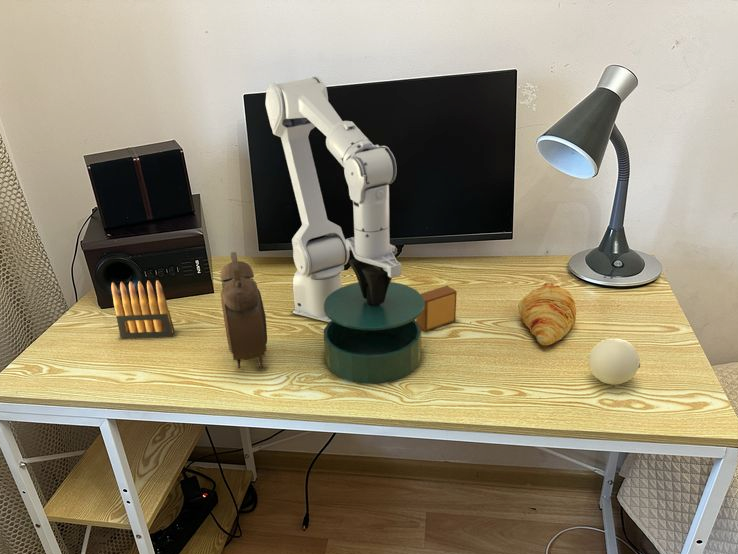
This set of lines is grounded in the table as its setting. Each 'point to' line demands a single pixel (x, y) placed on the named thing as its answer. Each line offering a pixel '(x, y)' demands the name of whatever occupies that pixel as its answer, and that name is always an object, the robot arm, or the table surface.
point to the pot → (372, 352)
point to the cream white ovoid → (614, 361)
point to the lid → (373, 307)
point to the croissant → (548, 313)
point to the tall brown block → (438, 308)
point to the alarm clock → (243, 312)
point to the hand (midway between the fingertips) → (373, 300)
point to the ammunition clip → (142, 312)
